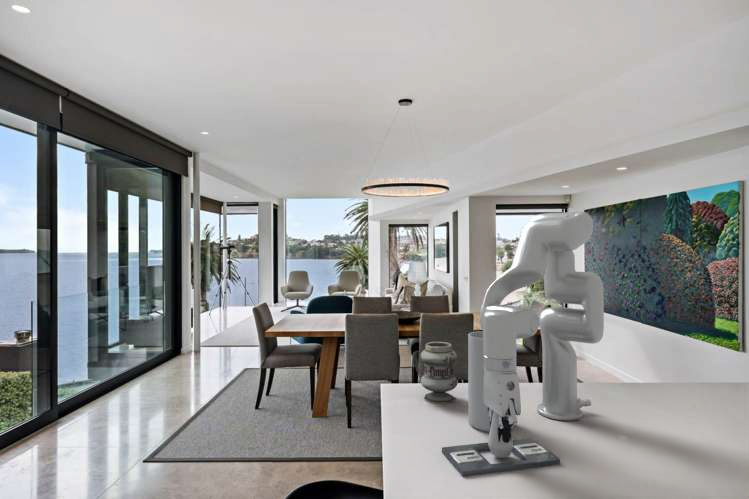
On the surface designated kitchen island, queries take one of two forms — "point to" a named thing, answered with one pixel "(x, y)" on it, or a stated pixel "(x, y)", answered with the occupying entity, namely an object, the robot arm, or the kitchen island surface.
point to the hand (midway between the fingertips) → (500, 440)
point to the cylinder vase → (476, 383)
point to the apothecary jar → (439, 372)
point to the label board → (475, 464)
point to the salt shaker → (495, 446)
